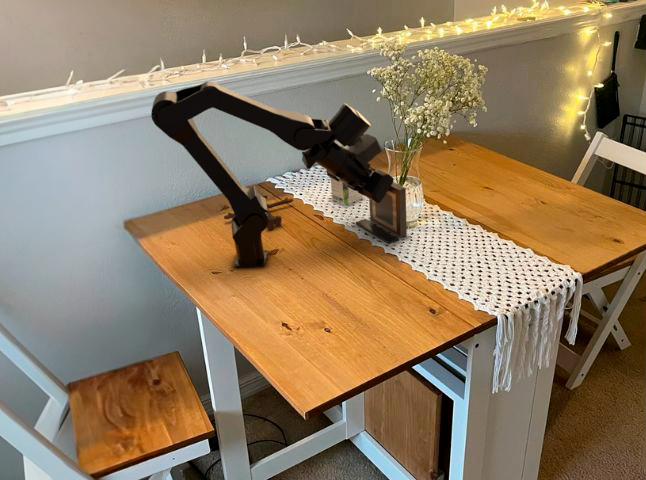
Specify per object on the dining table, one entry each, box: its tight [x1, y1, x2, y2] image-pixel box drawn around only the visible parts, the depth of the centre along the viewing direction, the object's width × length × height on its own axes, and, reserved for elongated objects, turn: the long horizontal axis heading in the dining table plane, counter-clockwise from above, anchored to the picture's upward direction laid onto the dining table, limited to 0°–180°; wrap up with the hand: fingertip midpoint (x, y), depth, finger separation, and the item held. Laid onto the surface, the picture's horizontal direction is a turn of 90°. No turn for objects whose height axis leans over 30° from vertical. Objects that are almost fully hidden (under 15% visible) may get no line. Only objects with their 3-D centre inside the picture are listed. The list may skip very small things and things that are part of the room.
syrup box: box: [330, 141, 363, 206], centre depth 168 cm, size 6×6×14 cm
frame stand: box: [355, 218, 400, 245], centre depth 155 cm, size 3×13×1 cm, turn 37°
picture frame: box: [368, 181, 408, 239], centre depth 154 cm, size 2×12×12 cm, turn 37°
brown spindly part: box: [223, 197, 294, 231], centre depth 163 cm, size 18×4×14 cm
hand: (382, 193), depth 152 cm, fingers closed, pressing on picture frame
